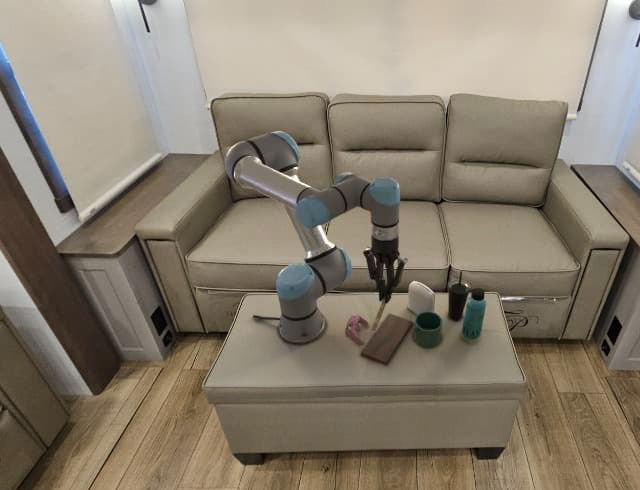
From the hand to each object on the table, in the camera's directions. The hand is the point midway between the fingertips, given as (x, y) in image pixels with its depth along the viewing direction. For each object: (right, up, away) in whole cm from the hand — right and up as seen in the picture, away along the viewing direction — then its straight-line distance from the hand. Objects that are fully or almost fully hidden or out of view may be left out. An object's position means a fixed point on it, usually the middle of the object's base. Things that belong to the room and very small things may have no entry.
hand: (385, 299), depth 128 cm
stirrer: (0, -1, 0) cm, 1 cm away
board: (+1, -14, +14) cm, 20 cm away
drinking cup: (+24, -8, +23) cm, 34 cm away
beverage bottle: (+28, -14, +15) cm, 35 cm away
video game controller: (-10, -13, +15) cm, 23 cm away
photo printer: (+12, -7, +24) cm, 28 cm away
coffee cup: (+14, -14, +14) cm, 24 cm away
